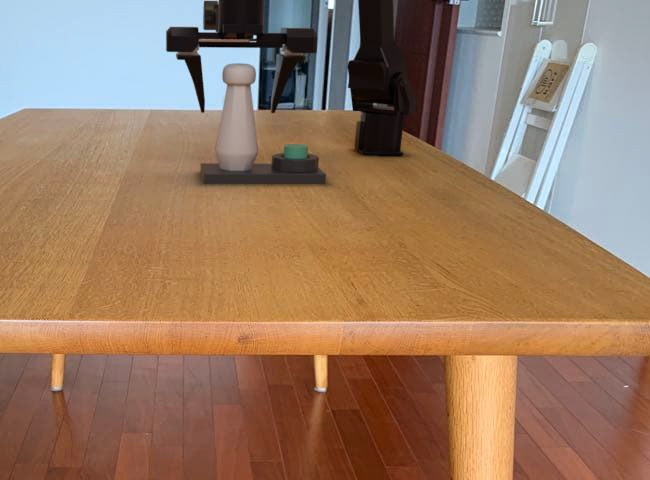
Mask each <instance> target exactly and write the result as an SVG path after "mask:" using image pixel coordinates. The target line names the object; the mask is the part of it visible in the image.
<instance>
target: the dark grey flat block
mask: <svg viewBox="0 0 650 480" xmlns="http://www.w3.org/2000/svg"><path fill="white" fill-rule="evenodd" d="M283 156H284V152H280V153H279V152H278V153H275V154H272V155H271V163H255V162H254V163H253V166H252V168H251V169H249V170H245V171H229V170H224V169H221V168H220V165H219V162H217V163H216V162H214V163H213V162H212V163H210V162H209V163H208V162H207V163H206V162H203V163H202V162H201V163H200V176H201V179H202V181H203V182H202V183H203V184H204V185H326V178H327V173H325V172H324V171H323V169H321V168H320V167H319V162H320V157H319V156H318V155H317V154H311V153H308V155H307V158H304V159H292V158H284V157H283Z"/></svg>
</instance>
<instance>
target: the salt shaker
mask: <svg viewBox="0 0 650 480" xmlns="http://www.w3.org/2000/svg"><path fill="white" fill-rule="evenodd" d="M256 72H257V71H256V68H255V66H253V64H250V63H241V62H239V63H237V62H235V63H228V64H226V65H225V66H224V67H223V68H222V74H221V75H222V78H221V79H222V82H223V83H224V84H226V89H225V94H224V100H223V105H222V112H221V116H220V122H219V126H218V131H217V135H216V140H215V145H214V153H215V157H216V159H217V163H219V165H220V168H221V169H224V170H229V171H245V170H249V169H251V168H252V166H253V163H255V161H256V159H257V157H258V155H259V146H258V145H259V143H258V136H257V127H256V119H255V111H254V103H253V102H254V101H253V93H252V85H253V84H254V83H255V82H256V78H257V73H256Z"/></svg>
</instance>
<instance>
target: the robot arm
mask: <svg viewBox="0 0 650 480" xmlns="http://www.w3.org/2000/svg"><path fill="white" fill-rule="evenodd" d="M265 3H266V0H203V8H202V9H203V11H202V13H203V14H202V15H203V16H202V28H203V30H204V31H203V32H200V31H199V27H198V26H170V27H168V29H166V31H165V51H166V52H167V53H175V59H176V60H177V61H184V62H185V65H186V67H187V70H188V72H189V75H190V78H191V80H192V85H193V88H194V91H195V94H196V98H197V102H198V106H199V110H200V113H202V114H204V113H205V110H206V109H205V108H206V98H205V88H204V77H203V65H202V56H201V54H200V53H198V51H200V48H218V49H219V48H221V49H223V48H224V49H225V48H227V49H229V48H230V49H231V48H232V49H235V48H236V49H237V48H239V49H279V51H280V53H276V58H275V70H274V71H275V72H274V78H273V83H272V84H273V85H272V92H271V97H270V113H271V114H275V113H276V111H277V108H278V106H279V103H280V100H281V98H282V95H283V93H284V91H285V88H286V85H287V83H288V81H289V79H290V77H291V75H292V74H293V71H294V70H295V69H296V66H297V64H298V63H299V62H306V59H307V57H306V56H305V55H304V54H317V50H318V33H317V32H316V30H315V29H314V28H310V27H281V28H280V31H279V32H264V25H265V5H266V4H265ZM357 3H358V4H357V5H358V6H357V7H358V23H359V25H358V26H359V40H360V41H359V47H358V50H357V51H356V54H355V56H354V57H353V59H350V60H348V62H347V67H346V68H347V73H348V83H347V88H348V89H350V90H349V91H350V99H351V107H352V111H353V112H360V119H359V120H357V121H356V125H355V137H354V150H355V151H357V152H359V153H360V155H363V156H403V155H404V152H405V151H402V149H401V147H402V139H403V131H404V123H405V117H406V116H411V115H414V113H415V111H416V106H417V103H418V98H417V96H416V93H415V91H414V88H413V86H412V84H411V81H410V80H409V77H408V69H407V62H406V61H407V60H406V57H405V55H404V53H403V52H402V51H401V49H400V47H399V45H398V44H397V42H396V41H395V23H394V17H395V16H394V0H357ZM205 31H206V32H205ZM207 31H209V32H207ZM210 31H212V32H210ZM213 31H215V32H213ZM254 36H255V37H256V38H254ZM376 104H377V105H376ZM378 104H379V105H378ZM388 105H389V106H388Z"/></svg>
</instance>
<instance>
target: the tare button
mask: <svg viewBox="0 0 650 480" xmlns="http://www.w3.org/2000/svg"><path fill="white" fill-rule="evenodd" d="M283 153H284V156H283V157H284V158H292V159H304V158H307V155H308V154H309V145H307V144H303V143H287V144H284V145H283Z"/></svg>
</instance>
